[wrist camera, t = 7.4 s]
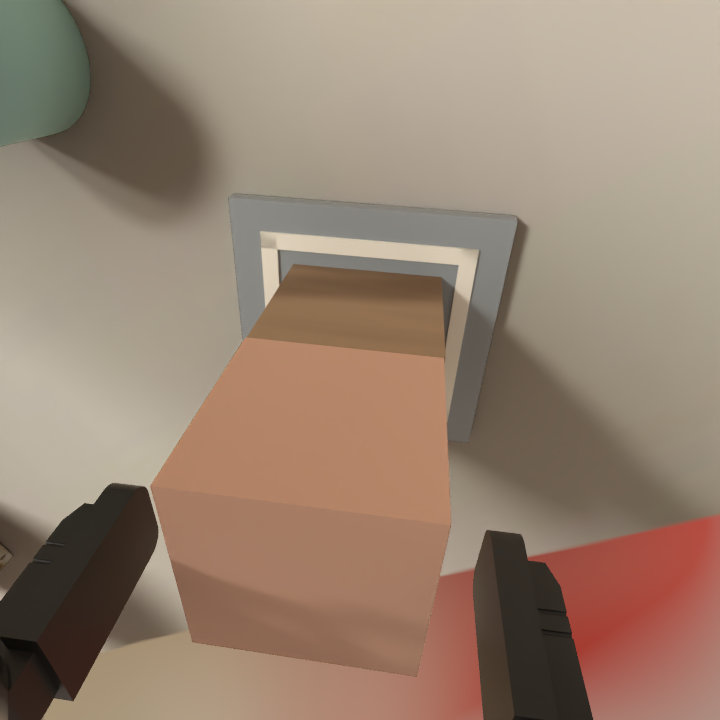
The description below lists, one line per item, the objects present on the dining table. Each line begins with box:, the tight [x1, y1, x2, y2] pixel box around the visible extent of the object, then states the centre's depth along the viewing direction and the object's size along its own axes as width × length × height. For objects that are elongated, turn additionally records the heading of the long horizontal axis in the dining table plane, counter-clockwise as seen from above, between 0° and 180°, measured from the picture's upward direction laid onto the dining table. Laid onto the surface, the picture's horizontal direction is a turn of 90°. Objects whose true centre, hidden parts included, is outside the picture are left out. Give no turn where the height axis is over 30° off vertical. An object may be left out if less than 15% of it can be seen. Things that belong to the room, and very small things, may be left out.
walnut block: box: [247, 264, 445, 363], centre depth 17 cm, size 6×6×6 cm
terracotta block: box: [150, 337, 451, 677], centre depth 13 cm, size 6×6×6 cm
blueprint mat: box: [228, 194, 518, 443], centre depth 20 cm, size 10×10×1 cm
